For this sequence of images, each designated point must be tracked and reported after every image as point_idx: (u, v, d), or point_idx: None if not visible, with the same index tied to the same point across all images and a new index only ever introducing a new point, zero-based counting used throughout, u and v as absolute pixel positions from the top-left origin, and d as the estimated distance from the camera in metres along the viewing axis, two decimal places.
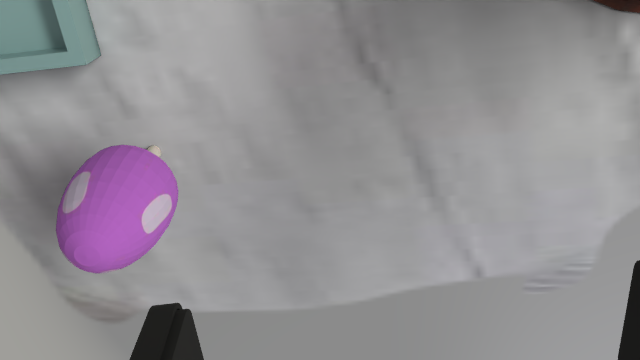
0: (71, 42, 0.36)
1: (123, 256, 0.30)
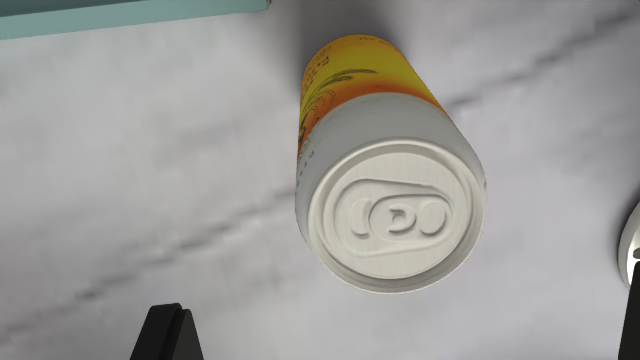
0: None
1: None
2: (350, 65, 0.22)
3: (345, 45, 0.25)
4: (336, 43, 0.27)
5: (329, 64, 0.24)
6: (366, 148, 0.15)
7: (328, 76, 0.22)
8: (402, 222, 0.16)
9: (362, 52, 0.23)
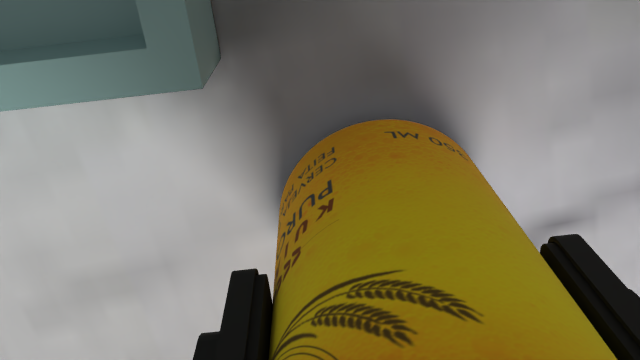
0: None
1: None
2: (390, 253, 0.09)
3: (366, 157, 0.12)
4: (346, 143, 0.14)
5: (335, 218, 0.11)
6: None
7: (336, 277, 0.09)
8: None
9: (409, 194, 0.10)
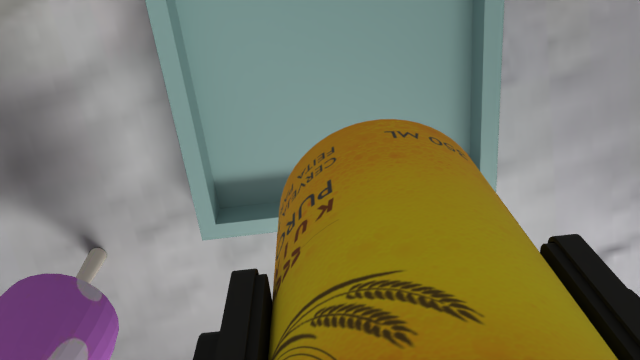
0: (226, 229, 0.33)
1: None
2: (390, 253, 0.09)
3: (365, 156, 0.12)
4: (345, 142, 0.14)
5: (335, 218, 0.11)
6: None
7: (336, 277, 0.09)
8: None
9: (409, 194, 0.10)
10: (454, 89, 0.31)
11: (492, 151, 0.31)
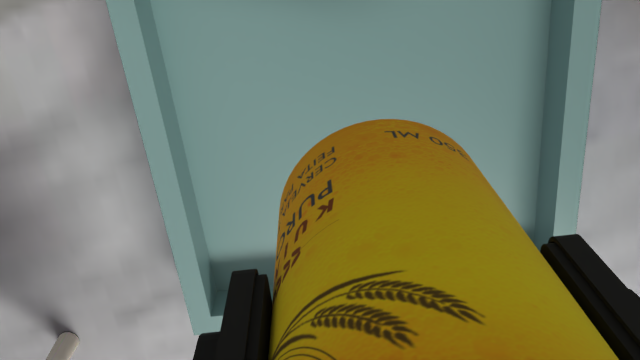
0: None
1: None
2: (391, 253, 0.09)
3: (366, 156, 0.12)
4: (345, 142, 0.14)
5: (335, 218, 0.11)
6: None
7: (336, 277, 0.09)
8: None
9: (409, 194, 0.10)
10: (518, 149, 0.24)
11: (568, 231, 0.24)
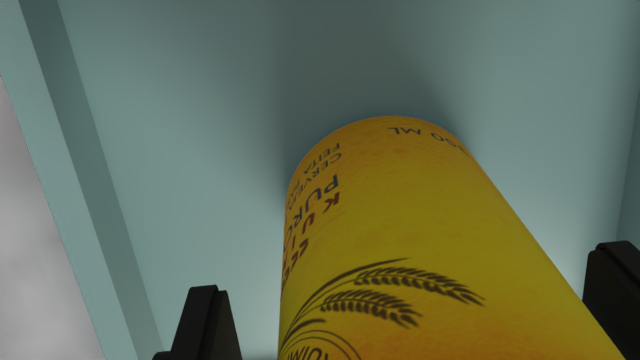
0: None
1: None
2: (395, 242, 0.09)
3: (370, 152, 0.13)
4: (350, 139, 0.14)
5: (342, 210, 0.11)
6: None
7: (343, 265, 0.09)
8: None
9: (413, 187, 0.11)
10: (588, 225, 0.18)
11: None
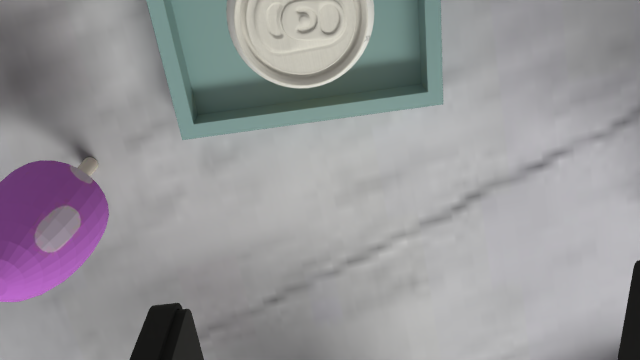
0: (203, 129, 0.36)
1: None
2: None
3: None
4: None
5: None
6: None
7: None
8: (306, 21, 0.21)
9: None
10: None
11: (436, 51, 0.35)
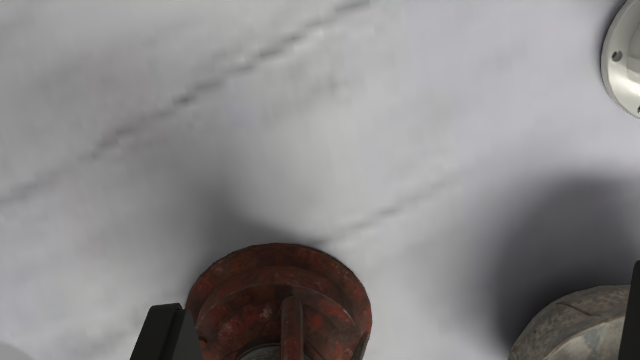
0: None
1: None
2: None
3: None
4: None
5: None
6: None
7: None
8: None
9: None
10: None
11: None
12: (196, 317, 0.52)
